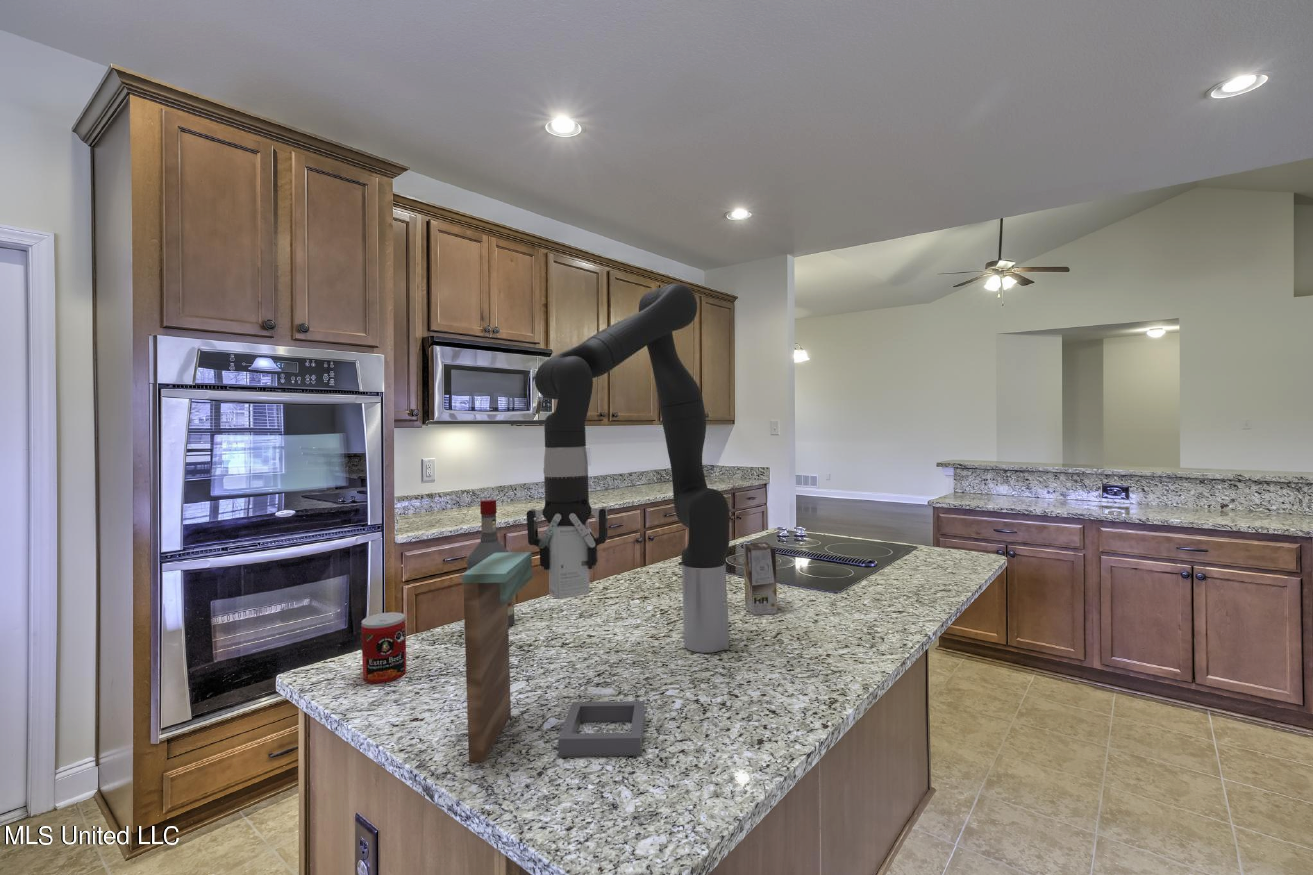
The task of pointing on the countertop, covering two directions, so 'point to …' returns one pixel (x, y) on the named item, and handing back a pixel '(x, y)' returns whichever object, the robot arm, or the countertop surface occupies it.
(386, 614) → the canned food
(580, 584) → the skincare box
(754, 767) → the countertop surface
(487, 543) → the liquor
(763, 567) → the coffee box
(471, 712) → the awning stand
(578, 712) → the socket
